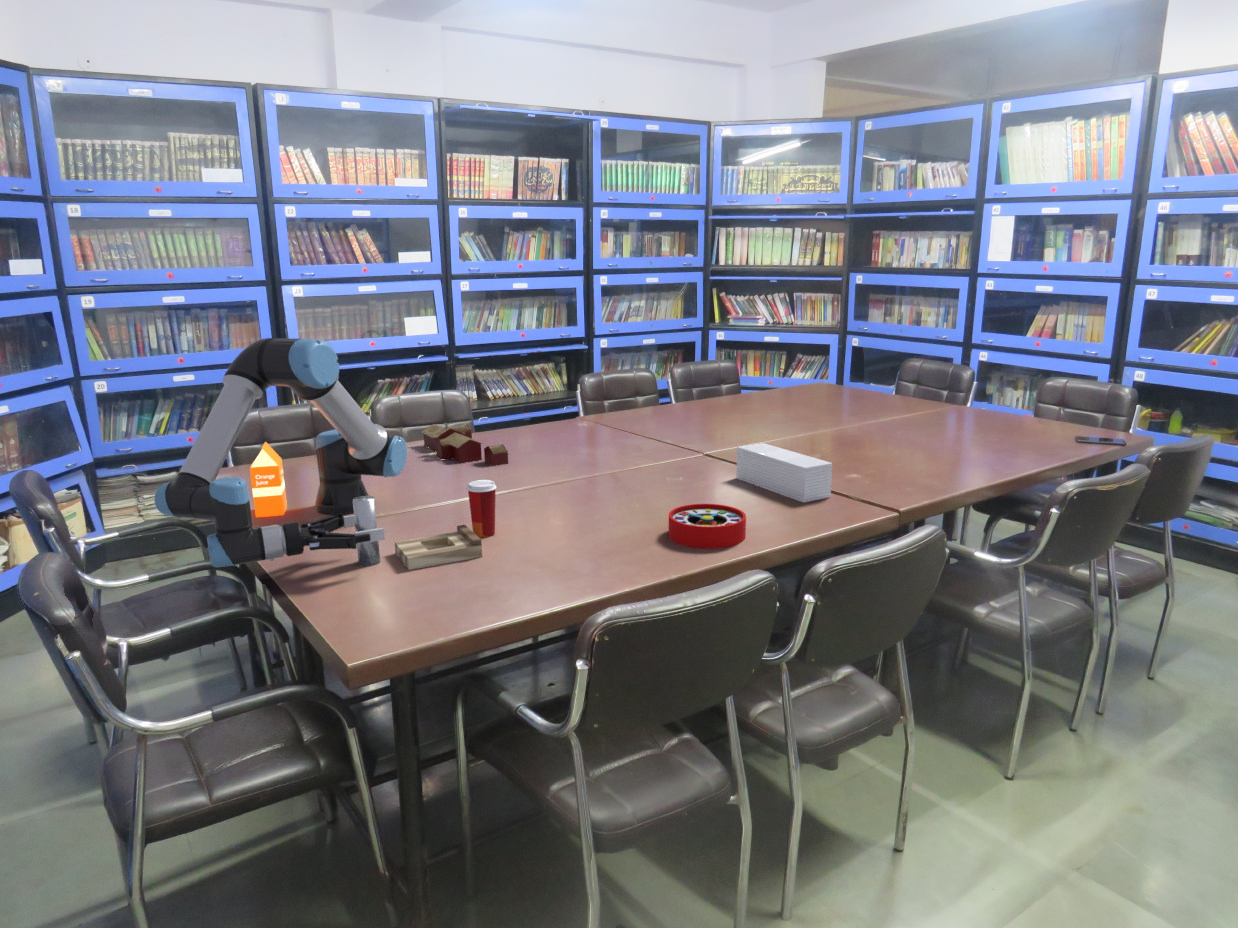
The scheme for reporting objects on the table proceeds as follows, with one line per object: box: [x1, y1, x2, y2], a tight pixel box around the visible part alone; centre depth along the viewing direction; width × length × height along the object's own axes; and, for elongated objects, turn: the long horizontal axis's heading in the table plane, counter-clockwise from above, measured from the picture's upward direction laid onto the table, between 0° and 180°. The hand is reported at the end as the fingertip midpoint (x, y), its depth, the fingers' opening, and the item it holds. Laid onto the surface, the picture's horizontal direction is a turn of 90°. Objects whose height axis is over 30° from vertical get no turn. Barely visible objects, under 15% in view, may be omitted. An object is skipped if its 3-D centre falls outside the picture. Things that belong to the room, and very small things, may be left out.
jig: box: [394, 524, 483, 571], centre depth 205 cm, size 13×18×4 cm
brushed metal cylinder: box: [353, 495, 381, 567], centre depth 199 cm, size 5×5×16 cm
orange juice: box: [249, 441, 288, 518], centre depth 239 cm, size 8×9×20 cm
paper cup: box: [466, 479, 497, 539], centre depth 218 cm, size 8×8×14 cm
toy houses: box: [421, 423, 512, 467], centre depth 306 cm, size 45×20×10 cm, turn 33°
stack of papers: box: [735, 442, 833, 503], centre depth 259 cm, size 32×11×11 cm, turn 30°
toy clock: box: [668, 503, 747, 550], centre depth 216 cm, size 20×6×20 cm
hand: (377, 525), depth 200 cm, fingers open, 13 cm apart
